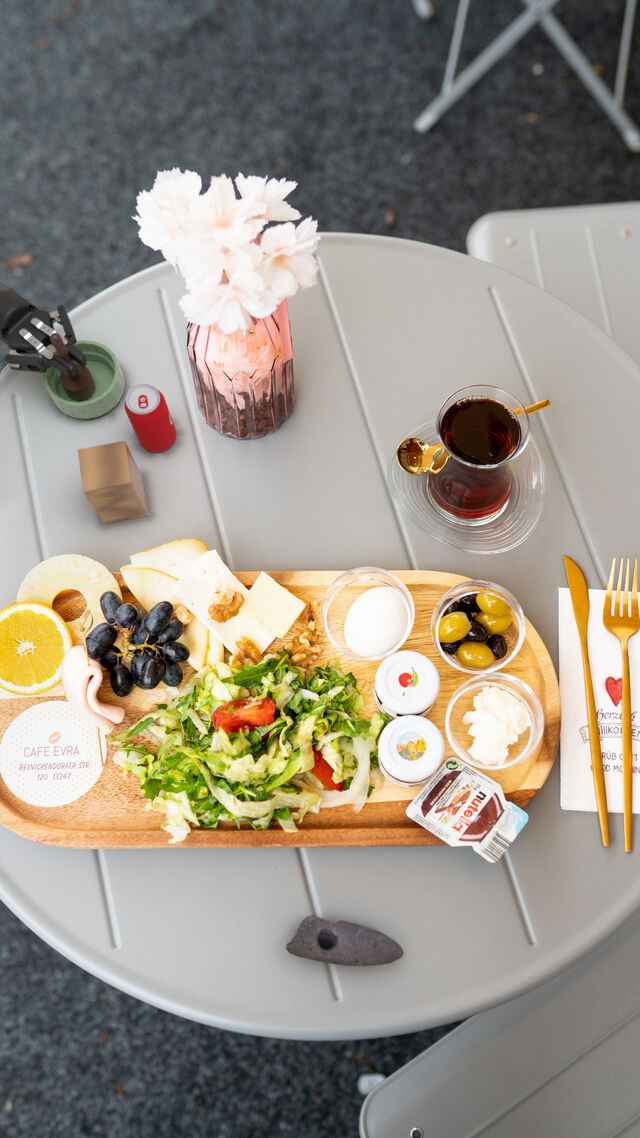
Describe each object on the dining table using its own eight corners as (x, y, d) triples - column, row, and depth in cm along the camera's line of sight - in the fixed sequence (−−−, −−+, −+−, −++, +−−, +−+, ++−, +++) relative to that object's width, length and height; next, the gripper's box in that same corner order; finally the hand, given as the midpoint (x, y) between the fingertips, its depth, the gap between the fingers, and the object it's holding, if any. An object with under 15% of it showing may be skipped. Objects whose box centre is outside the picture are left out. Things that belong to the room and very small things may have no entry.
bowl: (56, 427, 135) (47, 411, 130) (49, 365, 139) (39, 347, 134) (130, 413, 136) (123, 397, 131) (121, 352, 140) (113, 334, 135)
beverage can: (175, 418, 136) (161, 377, 124) (179, 451, 133) (165, 412, 122) (137, 424, 135) (120, 383, 124) (140, 457, 133) (123, 419, 122)
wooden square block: (104, 524, 129) (82, 491, 118) (98, 484, 132) (77, 449, 120) (148, 515, 130) (131, 482, 118) (142, 476, 132) (125, 440, 121)
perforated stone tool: (404, 931, 109) (409, 935, 102) (398, 974, 107) (403, 981, 101) (293, 909, 110) (291, 911, 103) (286, 951, 108) (283, 957, 102)
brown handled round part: (66, 402, 135) (38, 351, 122) (63, 377, 137) (35, 324, 123) (97, 397, 135) (72, 345, 122) (93, 372, 137) (68, 318, 124)
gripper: (38, 298, 136) (115, 352, 133) (-22, 353, 133) (55, 410, 129) (23, 266, 129) (103, 323, 126) (-41, 324, 126) (40, 384, 122)
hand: (78, 367), depth 127 cm, fingers closed on brown handled round part
